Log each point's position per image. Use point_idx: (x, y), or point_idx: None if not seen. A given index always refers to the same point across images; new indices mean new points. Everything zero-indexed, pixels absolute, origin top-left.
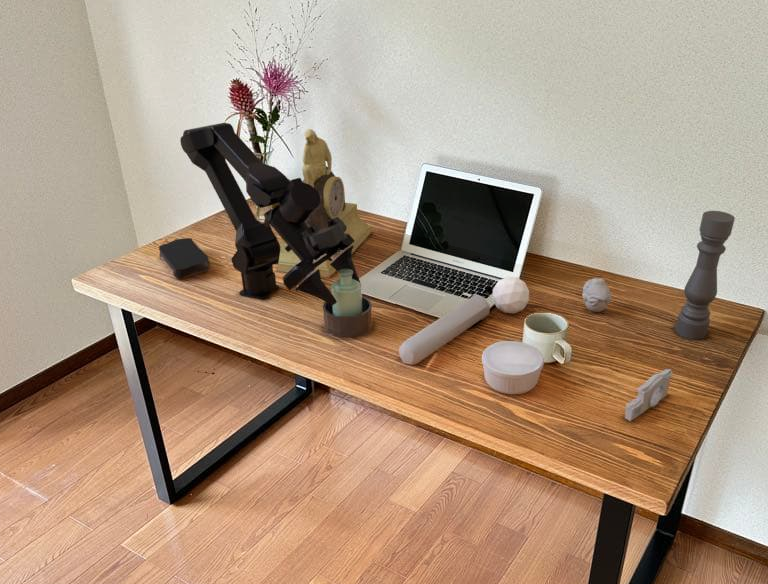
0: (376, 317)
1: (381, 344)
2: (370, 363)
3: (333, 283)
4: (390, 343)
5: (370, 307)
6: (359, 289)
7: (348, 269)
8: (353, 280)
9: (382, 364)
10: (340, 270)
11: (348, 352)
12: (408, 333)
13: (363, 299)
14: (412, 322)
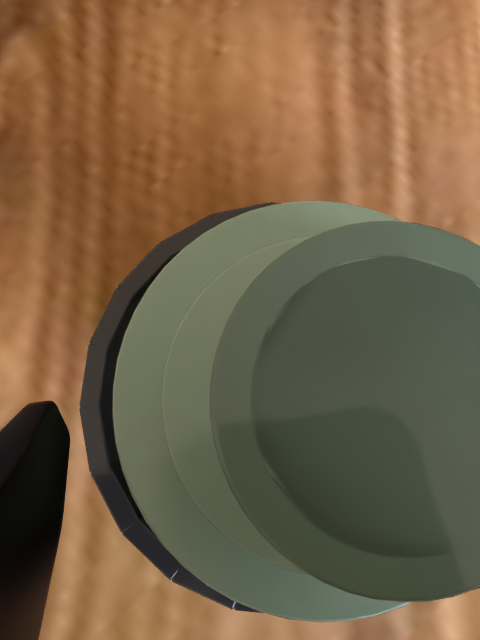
0: (87, 327)
1: (309, 145)
2: (475, 94)
3: (375, 600)
4: (275, 116)
5: (208, 221)
6: (288, 205)
7: (243, 428)
8: (201, 355)
9: (446, 48)
10: (412, 575)
11: (468, 232)
12: (143, 96)
13: (110, 361)
14: (33, 138)
